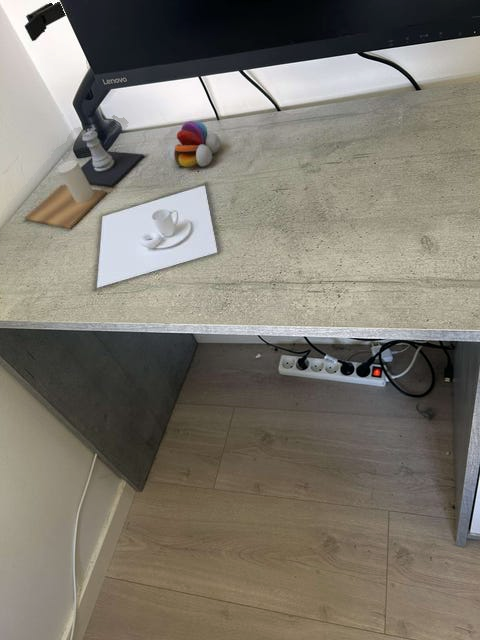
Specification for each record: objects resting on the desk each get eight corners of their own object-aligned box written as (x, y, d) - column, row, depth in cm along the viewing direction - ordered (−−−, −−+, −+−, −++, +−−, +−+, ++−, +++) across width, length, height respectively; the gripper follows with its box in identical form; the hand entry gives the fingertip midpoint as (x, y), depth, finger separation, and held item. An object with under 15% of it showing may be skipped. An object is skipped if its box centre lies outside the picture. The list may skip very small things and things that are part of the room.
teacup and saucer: (142, 256, 80) (132, 237, 77) (142, 228, 85) (133, 209, 82) (193, 241, 79) (185, 221, 76) (190, 214, 85) (182, 194, 82)
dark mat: (68, 181, 104) (67, 179, 103) (100, 153, 109) (99, 150, 109) (112, 187, 97) (111, 185, 97) (144, 156, 103) (143, 154, 102)
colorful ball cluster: (169, 172, 96) (155, 138, 91) (190, 145, 101) (178, 111, 96) (206, 172, 92) (195, 137, 87) (226, 144, 98) (216, 109, 92)
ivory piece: (71, 202, 96) (53, 171, 91) (84, 190, 98) (67, 159, 93) (85, 204, 95) (67, 173, 90) (98, 192, 97) (81, 160, 91)
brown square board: (26, 220, 97) (24, 217, 97) (62, 187, 103) (61, 185, 102) (70, 229, 91) (68, 226, 91) (106, 193, 96) (105, 191, 96)
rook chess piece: (91, 169, 104) (73, 134, 98) (108, 158, 105) (91, 123, 99) (101, 175, 101) (83, 139, 95) (119, 163, 102) (102, 128, 96)
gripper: (152, -6, 105) (130, 30, 91) (50, 22, 111) (15, 60, 97) (138, -48, 100) (113, -16, 86) (32, -16, 106) (-8, 19, 92)
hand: (61, 24), depth 92 cm, fingers open, 13 cm apart
